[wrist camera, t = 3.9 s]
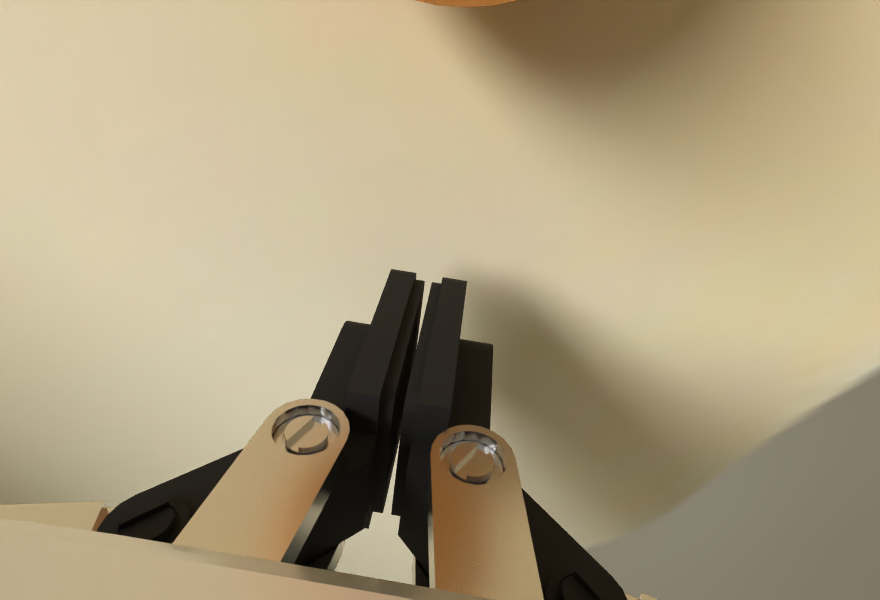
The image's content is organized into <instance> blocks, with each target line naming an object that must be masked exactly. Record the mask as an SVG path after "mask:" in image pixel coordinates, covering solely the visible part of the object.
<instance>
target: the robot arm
mask: <svg viewBox="0 0 880 600" xmlns="http://www.w3.org/2000/svg"><path fill="white" fill-rule="evenodd" d="M466 285H467V281H462V280H456V279H450V278H444V277H443V279H442V283H441V284H440V283H434V282H432V285H431V289H430V293H429V298H428V302H427V306H426V311H425V315H424V319H423V323H422V328H421V332H420V336H419V341H418V345H417V340H418V332H419V324H420V316H421V308H422V300H423V292H424V281H421V280H416V273H412V272H406V271H400V270H393V269H391V271H390V274H389V277H388V279H387V282H386V285H385V287H384V290H383V293H382V295H381V298H380V301H379V303H378V306H377V309H376V312H375V314H374V317H373V320H372V322H371V325H370V324H364V323H358V322H351V321H346V322H345V323H344V325H343V327H342V329H341V331H340V334H339V336H338V338H337V340H336V343H335V345H334V347H333V349H332V352H331V354H330V356H329V358H328V361H327V363H326V365H325V367H324V370H323V372H322V374H321V376H320V379H319V381H318V383H317V385H316V388H315V390H314V392H313V394H312V397H311V399H299V400H296V401H292V402H289V403H286V404H284V405H282V406H281V407H279V408H277V409H275V410H274V411H273V412H272V413H271V414H270V415H269V416H268V417H267V419H266V420H265V421H264V422H263V424H262V425H261V426H260V428H259V429H258V430H257V432H256V433H255V434H254V436H253V437H252V438H251V440H250V441H249V442H248V444H247V445H246V446H245V448H244V449H241V450H239V451H237V452H234V453H232V454H230V455H227V456H225V457H223V458H220V459H218V460H216V461H213V462H211V463H209V464H206V465H204V466H202V467H199V468H197V469H195V470H192V471H190V472H188V473H186V474H183V475H181V476H179V477H176V478H174V479H172V480H169V481H167V482H165V483H162V484H160V485H158V486H155V487H153V488H151V489H148V490H146V491H144V492H141V493H139V494H137V495H135V496H133V497H131V498H129V499H127V500H126V501H124V502H122V503H120V504H119V505H118V506H117V507H108V508H107V507H106V504H105V501H89V502H63V503H37V504H10V505H0V600H658V599H656V598H653V597H651V596H648V595H646V594H643V593H642V594H641V595H640V597H639V599H638V598H635V597H633V596H630V595H628V594H625V593H624V591H623V589H622V588H621V587H620V586H619V585H618V583H617V582H616V581H615V580H614V578H613V577H612V576H611V575H610V574H609V573H608V572H607V571H606V570H605V569H604V568H603V567H602V566H601V565H600V564H599V563H598V562H597V561H596V560H595V559H594V558H593V557H592V556H591V555H590V554H589V553H587V551H585V550H584V549H583V548H582V547H581V546H580V545H579V544H578V543H577V542H576V541H575V540H574V539H573V538H572V537H571V536H570V535H569V534H568V533H567V532H566V531H565V530H564V529H563V528H562V527H561V526H560V525H559V524H558V523H557V522H556V521H555V520H554V519H553V518H552V517H551V516H550V515H549V514H548V513H547V512H546V511H545V510H544V509H542V508H541V507H540V506H539V505H538V504H537V503H536V502H535V501H534V500H533V499H532V498H531V497H530V496H529V495H528V494H527V493H526V492H525V491H524V490H523V489H522V488H521V483H520V478H519V473H518V469H517V464H516V459H515V456H514V453H513V451H512V448H511V447H510V446H509V445H508V443H507V442H506V441H505V440H504V439H503V438H502V437H500V436H499V435H498V434H496V433H495V432H493V431H491V430H490V417H491V390H492V363H493V345H492V344H487V343H481V342H475V341H469V340H463V339H460V333H461V325H462V317H463V309H464V301H465V293H466ZM416 348H417V349H416ZM399 439H400V444H399ZM398 444H399V452H398V461H397V470H396V478H395V487H394V495H393V504H392V513H391V515H397V516H400V523H399V531H398V535H399V537H400V538H401V539H402V541H403V542H404V543H405V544H406V546H407V547H408V548H409V550H410V551H411V552H412V554H413V555H414V558H413V564H412V585H411V584H405V583H399V582H393V581H388V580H382V579H376V578H370V577H364V576H359V575H353V574H347V573H341V572H336V571H334V570H335V568H336V566H337V564H338V561H339V559H340V557H341V555H342V552H343V548H344V544H345V540H346V539H348V538H349V537H351V536H353V535H354V534H356V533H358V532H359V531H361V530H363V529H364V528H368V529H369V525H370V521H371V517H372V512H379V513H383V510H384V506H385V502H386V497H387V493H388V488H389V484H390V479H391V475H392V470H393V466H394V462H395V457H396V453H397V448H398Z"/></svg>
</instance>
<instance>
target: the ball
mask: <svg viewBox="0 0 880 600" xmlns="http://www.w3.org/2000/svg"><path fill="white" fill-rule="evenodd" d="M417 1H421V2H426V3H430V4H435V5H441V6H455V7H477V6H490V5H498V4H502V3H507V2H511V1H516V0H417Z"/></svg>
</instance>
